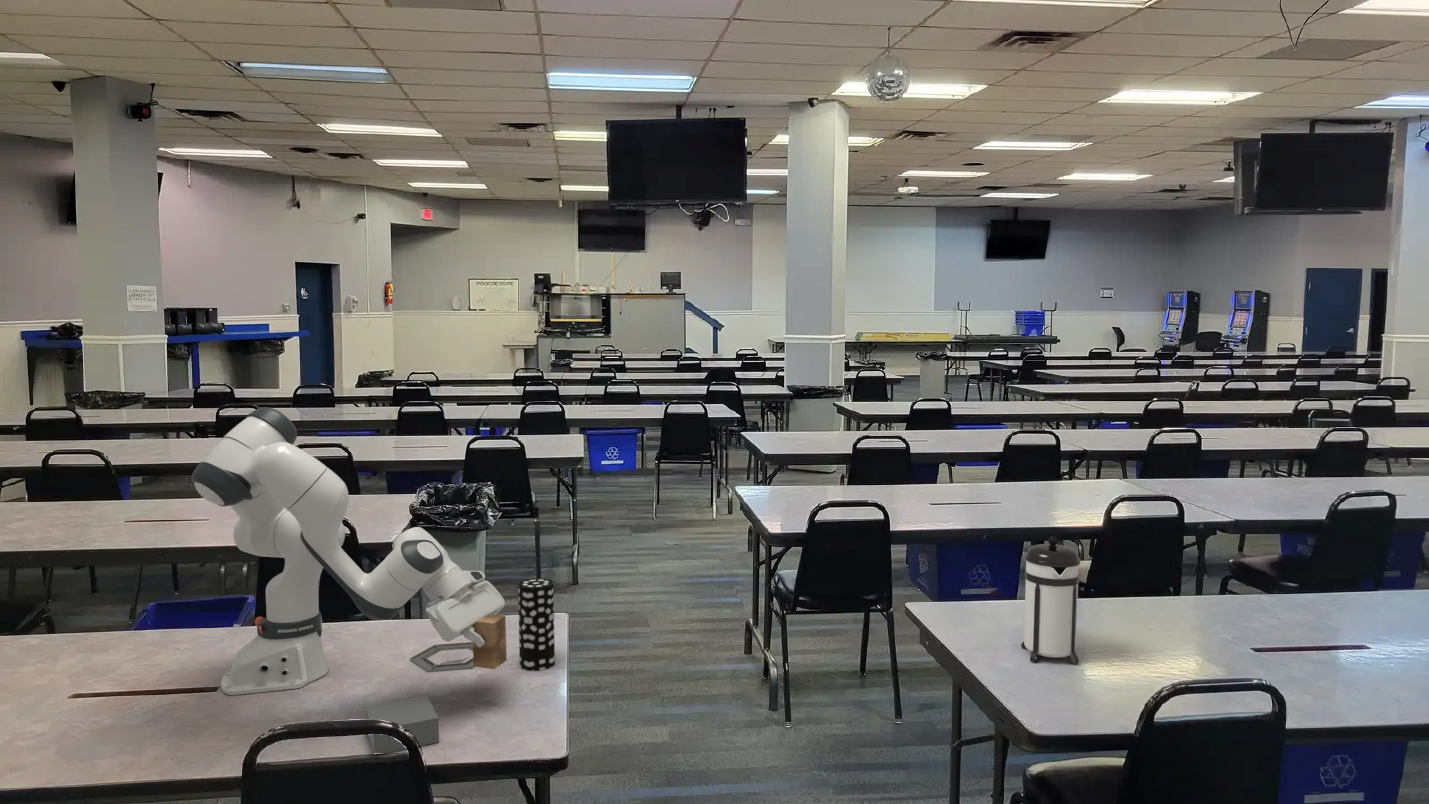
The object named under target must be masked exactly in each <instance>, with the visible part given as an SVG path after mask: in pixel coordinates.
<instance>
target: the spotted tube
mask: <svg viewBox="0 0 1429 804" xmlns="http://www.w3.org/2000/svg"><path fill="white" fill-rule="evenodd" d="M554 588H555V587H554V581H553V580H552V579H550V578H542V577H541V578H540V577H538V578H528V579H524V580H521V581H519V582H518V583H517V589H518V590H517V592H518V593H517V594H518V596H517V597H518V641H519V642H518V644H519V649H518V650H519V668H520V669H522V670H525V671H530V672H531V671H534V672H535V671H543V670H548V669H551V668H552V667H554V666H555V664H556V657H555V656H556V655H555V652H556V651H555V648H556V647H555V601H554V598H555V596H554V591H555V589H554Z"/></svg>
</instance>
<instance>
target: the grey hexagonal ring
mask: <svg viewBox="0 0 1429 804" xmlns="http://www.w3.org/2000/svg"><path fill="white" fill-rule="evenodd" d="M466 649H468V650H469V651H471V652H473V642H472V641H469V642H468V641H467V642H453V643H442V644H433V645H432V646H430V647H428V648H426V649H424V650H422V651H420V652H418V653H417V654H415V655H413V656H412V657H410V658H409V661H410V662H411V663H412V664H414V665H416V666H417V667H419V668H420V669H421V670H423V671H425V672H426V673H436V672H437V673H438V672H450V671H464V670H472V669H473V668H475V666H474V660H473V657H471V658H469V657H465V658H461V659H456V660H455V659H454V660H449V661H444V662H441V663H439V664H436V663H434V662H433V661H431V660H429V659H428V658H431V657H432V656H434V655H436V654H437V653H439V652H441V651H451V650H454V651H455V650H466ZM467 659H468V660H467ZM466 660H467V661H466ZM453 661H454V662H453Z"/></svg>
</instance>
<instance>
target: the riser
mask: <svg viewBox="0 0 1429 804" xmlns="http://www.w3.org/2000/svg"><path fill="white" fill-rule="evenodd" d="M366 719H381V720H385V721H389V722H394V723H397V724H399V725H400V726H402V728H405V729H407V730H409V731H410V732H411V733H412V734H413V735H414V736H415V737H416V738H417V739H418V742H419V744H420V745H422V746H421V747H424V745H425V746H427V745H426V744H429V745H433V743H434V744H438V743H440V735H439V734H440V733H439V731H440V729H439V716H438V714H437V712H436V711H435V709H434V706H433V704H432V702H431V701H430V699H429V696H428V695H423V696H418V697H412V698H407V699H401V700H396V701H390V702H385V703H378V704H374V705H370V706H365V720H366ZM367 738H368V741H369V743H370V747H371V751H372V754H373V753H386V754H390V752H391V753H395V752H399V751H405V750H406V749H405V747H404V746H403V745H402V744H401V743H400V742H398V741H397V740H395V739H394V738H393V737H391V736H386V735H380V734H372V735H369V736H368V735H367Z"/></svg>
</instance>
